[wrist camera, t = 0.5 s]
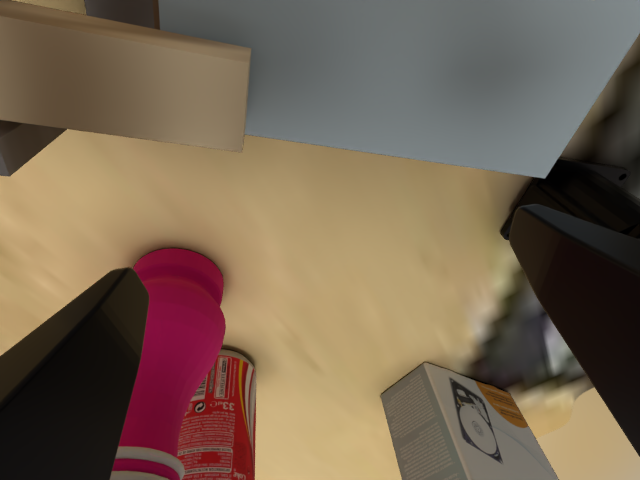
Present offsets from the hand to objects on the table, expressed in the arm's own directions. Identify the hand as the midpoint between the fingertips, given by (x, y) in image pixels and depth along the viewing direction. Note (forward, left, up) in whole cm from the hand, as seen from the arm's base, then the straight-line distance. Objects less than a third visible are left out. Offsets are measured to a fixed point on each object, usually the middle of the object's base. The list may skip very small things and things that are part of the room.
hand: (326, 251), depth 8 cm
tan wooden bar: (+6, -2, -6) cm, 8 cm away
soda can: (+3, +25, -13) cm, 29 cm away
